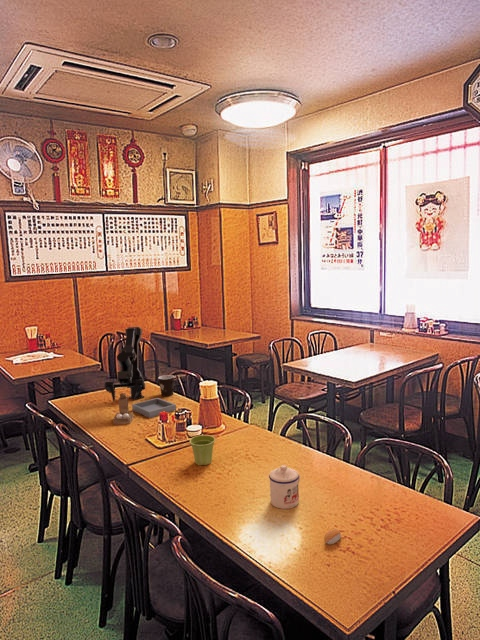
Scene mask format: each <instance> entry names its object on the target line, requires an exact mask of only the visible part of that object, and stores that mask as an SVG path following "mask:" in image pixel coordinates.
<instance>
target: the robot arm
mask: <svg viewBox="0 0 480 640" xmlns="http://www.w3.org/2000/svg"><path fill="white" fill-rule="evenodd" d="M124 331H125V332H124V333H125V341H124V342H125V343H124V347H122V348H121V351H120V353H118V354H117V356H116V360H117V363H118V365H119V367H120V370H119V371H117V376H116V377H117V382H118V383H115V382H114V380H110V381H107V380H106V381H105V382H104V385H103V386H104V389H105V391H106V392H107V393H110V394H111V397H112V401H113V402H114V403H115V401H116V388H117V389H118V388H127V389H130V396H128V398H129V399H131V400H132V401H133V402H134V401H135V400H140V399H143V398H145V396H144V395H142V391H143V390H146V383H145V380H144V377H143V375H142V372H141V371H140V368H139V344H140V341H141V340H142V335H143V329H142V327H140V326H130V327H127V328H125V330H124Z"/></svg>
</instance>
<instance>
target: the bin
mask: <svg viewBox="0 0 480 640" xmlns="http://www.w3.org/2000/svg"><path fill="white" fill-rule="evenodd" d="M131 408H132V412H135V413H136V414H140V415H142V416H144V417H146V418H149V419H151V418H155V417H158V415H159V413H160V412H163V411H165V412H169V413H172V412H171V411H173V412H175V411H174V410H176V411H177V404H175V403H172V402H170V401H168V400H165V399H162V398H159V397H156V398H151V399H149V400H148V399H147V400H145V401H140V402H136V403H133V404H131ZM159 416H160V415H159Z"/></svg>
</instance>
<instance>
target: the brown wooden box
mask: <svg viewBox="0 0 480 640" xmlns="http://www.w3.org/2000/svg"><path fill="white" fill-rule="evenodd" d="M128 398H129V396H127V394H126V393H124V392H122V393H120V394H119V397H118V411H119V412H116V414H115V416H114V417H113V420H112V422H113V423H112V425H114V426H116V425H130V424H131V423H132V421H133V419H134V411H131V412H130V410H129V399H128ZM125 413H127V414H129V417H128V418H116V416H117V414H122V415H123V414H125Z"/></svg>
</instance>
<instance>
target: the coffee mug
mask: <svg viewBox="0 0 480 640" xmlns="http://www.w3.org/2000/svg"><path fill="white" fill-rule="evenodd" d="M157 378H158V384H159V389H160V393H161V397H172V396H174V390H175V389H176V388H177V387H178V383H177V381H176V380H175V375H173V374H166V375H160V376H158V377H157ZM174 385H175V386H174Z"/></svg>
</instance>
